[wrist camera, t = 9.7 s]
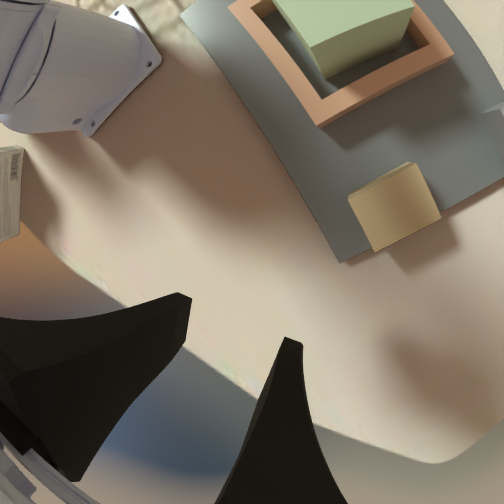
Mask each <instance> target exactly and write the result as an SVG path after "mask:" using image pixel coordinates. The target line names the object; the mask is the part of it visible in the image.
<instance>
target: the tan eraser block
mask: <svg viewBox="0 0 504 504" xmlns="http://www.w3.org/2000/svg"><path fill="white" fill-rule="evenodd" d="M348 202H349V203H350V205H351V207H352V209H353V211H354V213H355V215H356V217H357V218H358V220H359V222H360V224H361V226H362V228H363V230H364V232H365V234H366V236H367V238H368V240H369V242H370V244H371V246H372V248H373V250H374V252H376V251H378V250H380V249H382V248H384V247H386V246H389V245H391V244H393V243H395V242H396V241H398V240H400V239H402V238H404V237H406V236H408V235H410V234H412V233H414V232H416V231H418V230H420V229H422V228H424V227H426V226H428V225H430V224H431V223H433V222H435V221H437V220H439V219H441V215H440V213H439V211H438V208H437V206H436V204H435V201H434V199H433V197H432V195H431V193H430V190H429V188H428V186H427V184H426V182H425V180H424V178H423V176H422V173H421V171H420V169H419V167H418V165H417V164H416V163H412V162H406V163H405V164H403V165H401V166H399V167H397V168H395V169H393V170H391V171H390V172H388V173H386V174H384V175H382V176H380V177H378V178H376V179H375V180H373V181H371V182H369V183H367V184H365V185H363V186H362V187H360V188H358V189H356V190H354V191H352V192H350V193H349V194H348Z"/></svg>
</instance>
